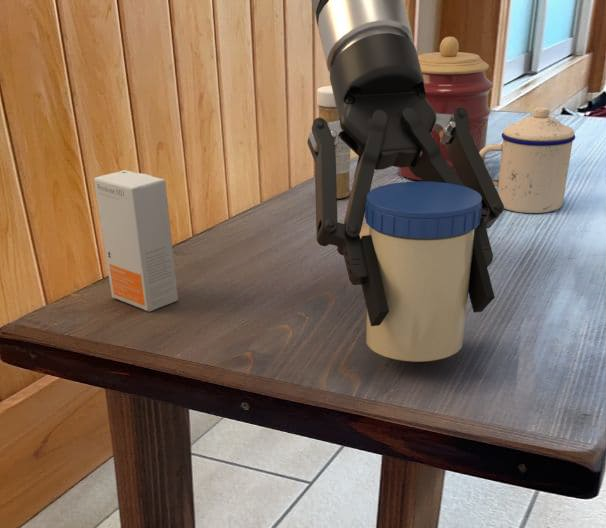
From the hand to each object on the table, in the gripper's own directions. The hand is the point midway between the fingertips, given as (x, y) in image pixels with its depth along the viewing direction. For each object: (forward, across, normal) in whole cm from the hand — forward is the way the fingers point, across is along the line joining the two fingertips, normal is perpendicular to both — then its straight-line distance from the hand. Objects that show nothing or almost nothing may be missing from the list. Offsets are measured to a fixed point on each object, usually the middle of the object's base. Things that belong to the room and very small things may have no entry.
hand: (432, 311), depth 69 cm
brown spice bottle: (-36, -10, -44) cm, 58 cm away
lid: (-8, 0, +3) cm, 8 cm away
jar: (0, 0, -5) cm, 5 cm away
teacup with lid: (-27, -32, -35) cm, 54 cm away
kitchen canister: (-40, -29, -49) cm, 69 cm away
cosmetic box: (-14, +21, -22) cm, 33 cm away
